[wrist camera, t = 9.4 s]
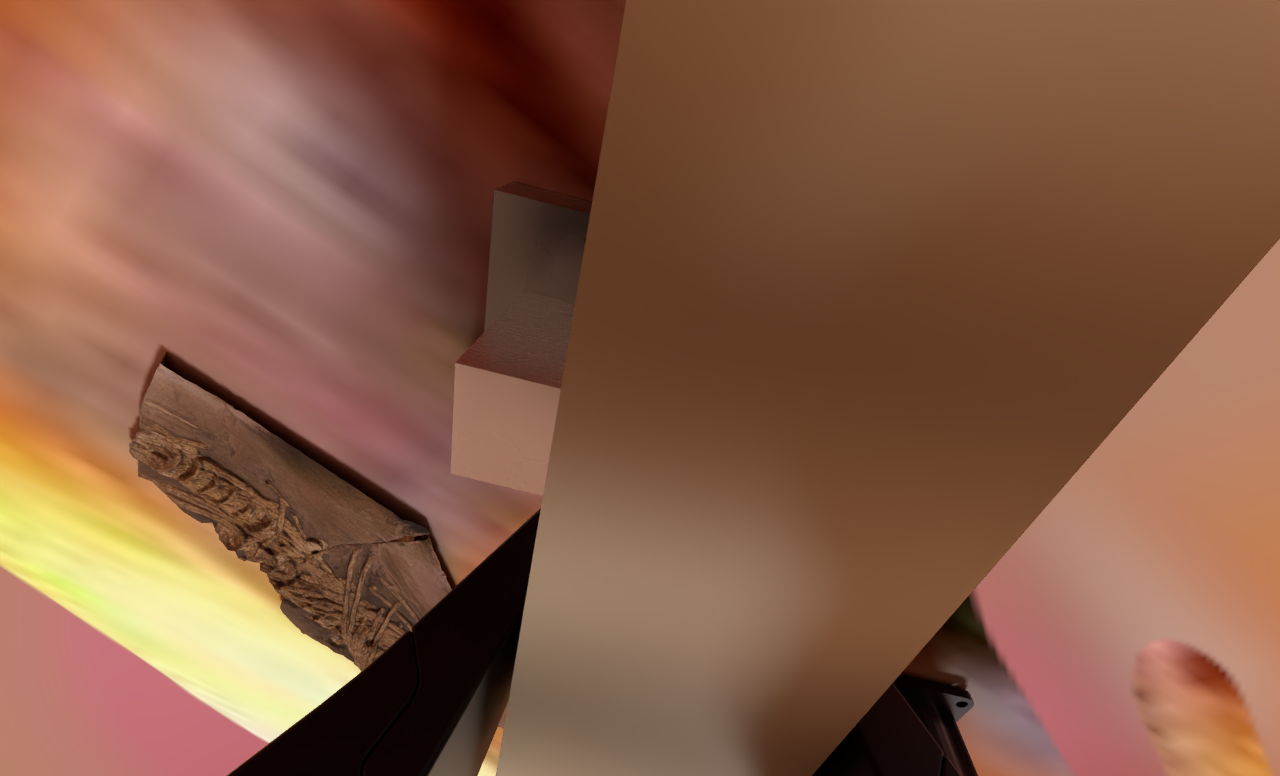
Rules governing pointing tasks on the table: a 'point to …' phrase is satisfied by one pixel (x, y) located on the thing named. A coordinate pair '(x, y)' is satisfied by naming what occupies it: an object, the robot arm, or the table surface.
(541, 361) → the balance ridge
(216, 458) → the wooden fragment
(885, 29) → the birch rod
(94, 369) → the table surface
